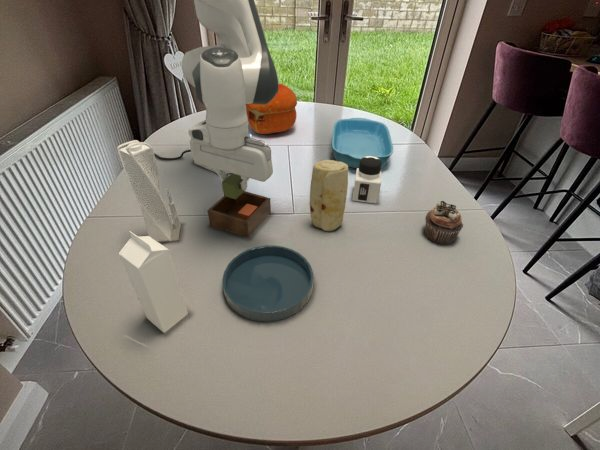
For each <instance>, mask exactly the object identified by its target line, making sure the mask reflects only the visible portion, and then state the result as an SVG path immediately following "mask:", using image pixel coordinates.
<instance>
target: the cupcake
mask: <svg viewBox="0 0 600 450" xmlns="http://www.w3.org/2000/svg"><path fill="white" fill-rule="evenodd" d="M462 219H463V218H462V215H461V213H460V211H459V209H458V208H457V206H456V205H455V204H451V203H450V204H449V203H447V202H446V201H445V200H440V201H437V202H436V204H435V206H434V207H432V209H430V210H429V211H428V212H427V213H426V215H425V229H424V234H425V236H426V238H427V239H429V240H430V241H432V242H433V243H437V244H440V245H448V244H451V243H452V242H454V241H455V240H456V238H457V236H458V235H459V234H460V233H461V231H462V229H463V228H464V222H463V220H462Z"/></svg>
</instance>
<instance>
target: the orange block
mask: <svg viewBox="0 0 600 450" xmlns="http://www.w3.org/2000/svg"><path fill="white" fill-rule="evenodd" d="M257 209H258V207H257V206H254V205H250V204H246V205H245V206H244V207H243V208H242V209H241V210H240V211H239V212H238V216H239V218H240V219H244V220H247V219H248V218H249V217H250V216H251V215H252V214H253V213H254V212H255V211H256V210H257Z"/></svg>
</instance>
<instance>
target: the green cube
mask: <svg viewBox="0 0 600 450" xmlns="http://www.w3.org/2000/svg"><path fill="white" fill-rule="evenodd" d="M227 176H228V177H227V178H226V179H225V180H224V181H222V183H221V186H222V193H223V196H226V197H229V198H233V199H237V198H238V197H239V196H240V195H241V194H242V193H243V192H244V191H247V188H246V189H245V190H241V189H239V188H238V183H239V182H240V181H242V180H243V179H241V176H240V175H237V174H233V173H230V175H227Z"/></svg>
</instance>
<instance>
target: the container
mask: <svg viewBox="0 0 600 450" xmlns="http://www.w3.org/2000/svg"><path fill="white" fill-rule="evenodd" d="M381 166H382V162H381V160H380V159H379V158H376V157H373V156H366V157H363V158H362V159H360V164H359V168H356V171H355V178H354V186H353V191H352V199H351V200H352V201H354V202H361V203H369V204H378V202H379V201H378V200H379V197H380V191H381V190H380V189H381V185H382V167H383V166H382V167H381Z"/></svg>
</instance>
